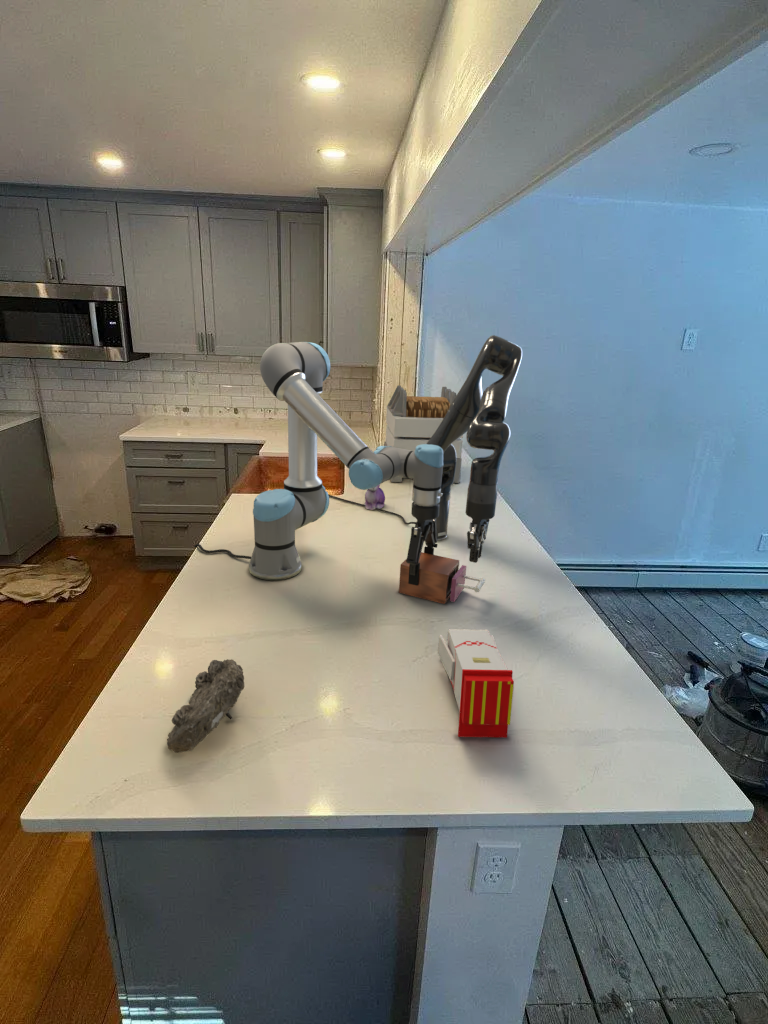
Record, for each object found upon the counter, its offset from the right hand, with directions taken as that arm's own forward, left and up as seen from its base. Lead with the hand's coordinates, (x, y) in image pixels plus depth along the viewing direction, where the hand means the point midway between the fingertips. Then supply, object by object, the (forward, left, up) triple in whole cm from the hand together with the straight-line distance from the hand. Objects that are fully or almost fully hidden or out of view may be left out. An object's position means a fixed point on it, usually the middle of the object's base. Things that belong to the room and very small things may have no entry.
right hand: (475, 559), depth 152 cm
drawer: (-6, -1, -12) cm, 13 cm away
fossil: (-17, -74, -13) cm, 77 cm away
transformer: (-79, +99, -13) cm, 127 cm away
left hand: (-15, -3, -9) cm, 17 cm away
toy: (+18, -36, -13) cm, 42 cm away
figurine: (-66, +45, -13) cm, 81 cm away
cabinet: (-12, -2, -13) cm, 18 cm away
